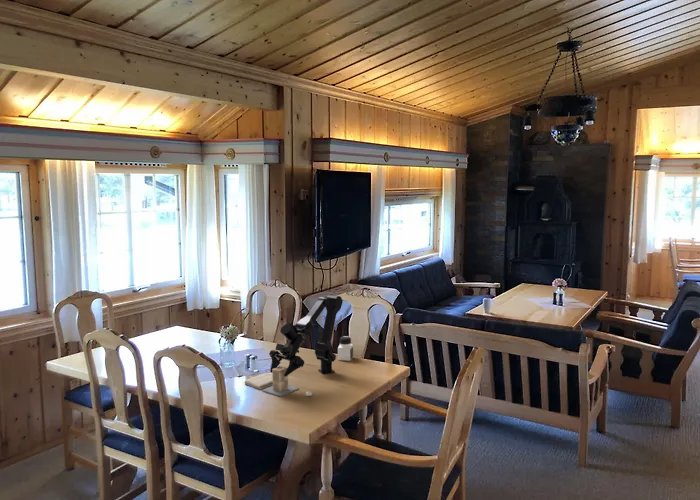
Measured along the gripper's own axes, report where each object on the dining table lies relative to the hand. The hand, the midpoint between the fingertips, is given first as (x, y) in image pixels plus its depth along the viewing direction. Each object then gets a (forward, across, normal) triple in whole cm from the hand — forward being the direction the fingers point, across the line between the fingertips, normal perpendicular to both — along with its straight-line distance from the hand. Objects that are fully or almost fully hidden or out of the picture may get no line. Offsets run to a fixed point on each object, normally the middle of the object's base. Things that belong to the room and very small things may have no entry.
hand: (277, 374), depth 272 cm
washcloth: (+3, -14, +10) cm, 17 cm away
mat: (+5, 0, +7) cm, 8 cm away
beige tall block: (+4, 0, +6) cm, 8 cm away
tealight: (+3, +15, +9) cm, 18 cm away
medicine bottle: (-34, -6, +46) cm, 58 cm away
